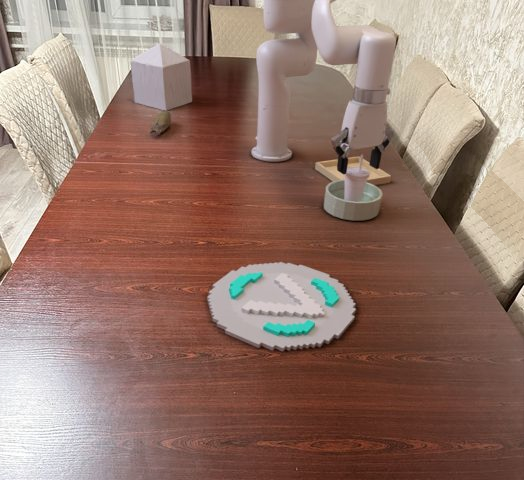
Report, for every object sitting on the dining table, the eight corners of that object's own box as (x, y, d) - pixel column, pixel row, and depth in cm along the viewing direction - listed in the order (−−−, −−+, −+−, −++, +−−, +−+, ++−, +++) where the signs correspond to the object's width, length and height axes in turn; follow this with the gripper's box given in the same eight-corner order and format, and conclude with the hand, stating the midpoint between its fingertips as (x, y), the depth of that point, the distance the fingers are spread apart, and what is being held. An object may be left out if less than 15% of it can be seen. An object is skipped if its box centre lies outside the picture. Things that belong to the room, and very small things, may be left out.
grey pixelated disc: (310, 371, 87) (311, 363, 86) (179, 313, 98) (179, 306, 97) (375, 294, 106) (376, 287, 105) (259, 253, 117) (259, 246, 116)
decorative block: (192, 101, 205) (190, 43, 192) (166, 110, 194) (161, 49, 181) (161, 94, 211) (157, 37, 198) (133, 102, 200) (127, 43, 187)
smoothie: (362, 214, 133) (372, 160, 124) (337, 211, 134) (345, 157, 125) (364, 204, 138) (373, 151, 129) (339, 201, 139) (347, 148, 130)
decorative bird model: (175, 122, 184) (174, 107, 181) (162, 140, 169) (160, 124, 166) (161, 121, 185) (160, 106, 181) (146, 139, 169) (145, 123, 166)
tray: (314, 168, 157) (315, 162, 155) (357, 162, 162) (358, 156, 161) (345, 190, 145) (346, 183, 144) (390, 182, 151) (391, 175, 150)
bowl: (312, 202, 139) (315, 184, 135) (358, 194, 144) (361, 176, 141) (342, 225, 129) (345, 206, 126) (390, 216, 134) (394, 197, 131)
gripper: (390, 88, 124) (377, 160, 135) (328, 94, 118) (320, 169, 129) (410, 96, 119) (395, 170, 130) (346, 102, 113) (336, 180, 124)
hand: (357, 169), depth 129 cm, fingers open, 9 cm apart
